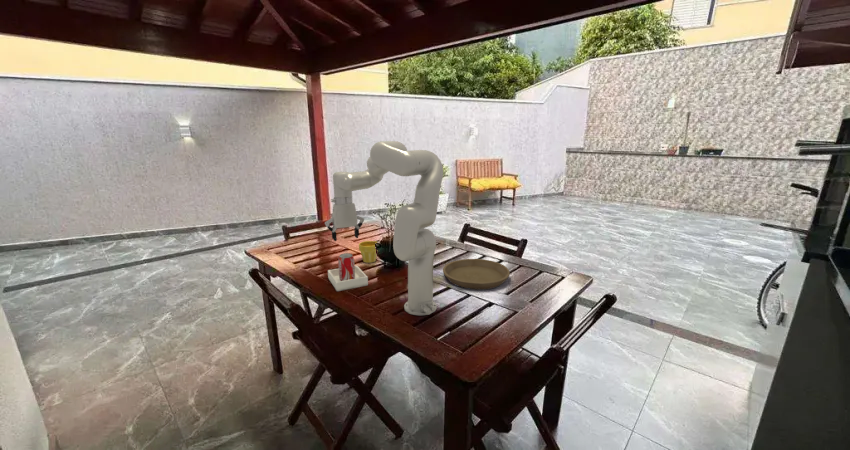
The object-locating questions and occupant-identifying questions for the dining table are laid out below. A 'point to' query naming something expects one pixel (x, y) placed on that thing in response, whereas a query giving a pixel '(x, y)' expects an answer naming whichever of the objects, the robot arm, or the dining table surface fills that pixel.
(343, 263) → the soda can
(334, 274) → the tray
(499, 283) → the plant saucer
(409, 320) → the dining table surface
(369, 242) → the plant pot
